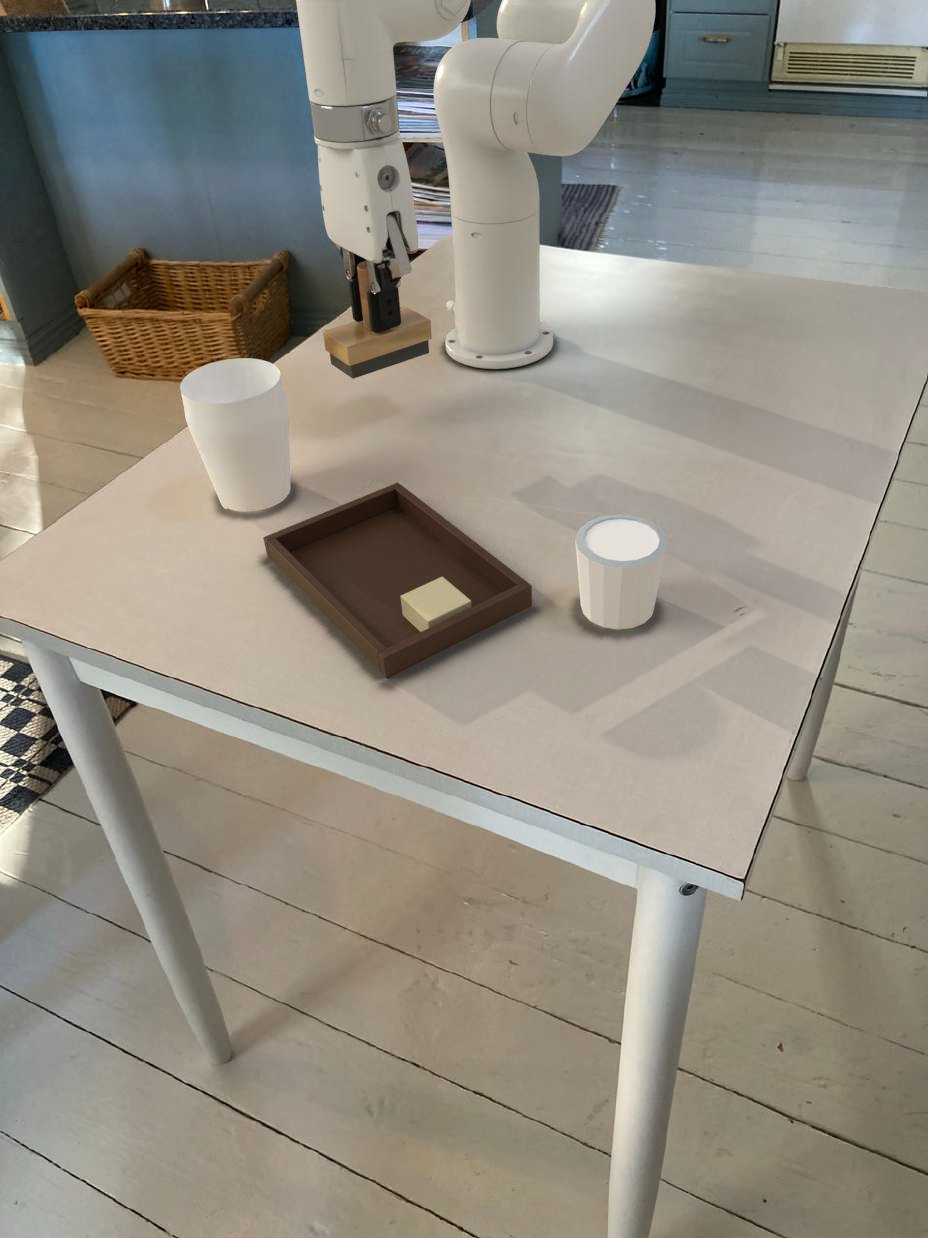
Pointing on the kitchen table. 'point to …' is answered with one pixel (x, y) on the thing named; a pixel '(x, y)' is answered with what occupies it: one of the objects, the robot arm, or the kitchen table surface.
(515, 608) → the tray
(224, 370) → the cup
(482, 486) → the kitchen table surface
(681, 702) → the kitchen table surface
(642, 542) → the white tapered tub
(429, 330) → the brush
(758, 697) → the kitchen table surface
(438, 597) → the sponge chip
